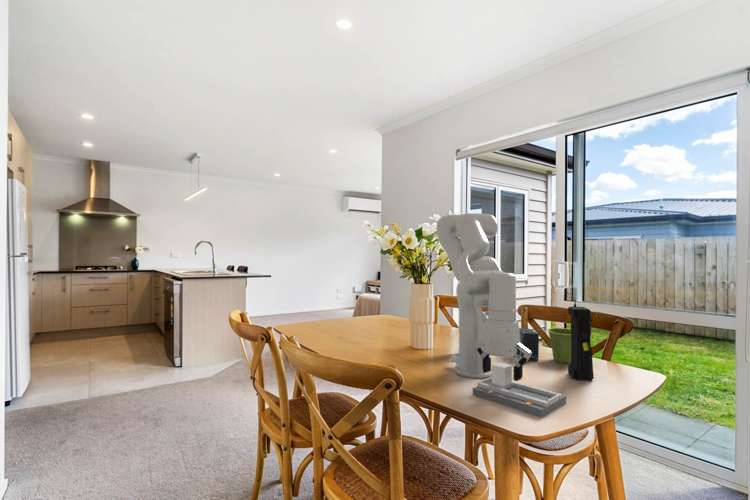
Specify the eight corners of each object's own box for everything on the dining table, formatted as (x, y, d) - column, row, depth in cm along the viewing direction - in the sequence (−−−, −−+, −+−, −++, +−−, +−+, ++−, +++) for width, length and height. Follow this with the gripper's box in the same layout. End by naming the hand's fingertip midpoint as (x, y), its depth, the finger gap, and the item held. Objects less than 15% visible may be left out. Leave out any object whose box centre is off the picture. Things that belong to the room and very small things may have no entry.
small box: (540, 361, 146) (540, 333, 146) (522, 361, 146) (522, 333, 146) (529, 353, 157) (529, 327, 157) (512, 353, 157) (512, 327, 157)
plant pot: (544, 362, 145) (544, 331, 145) (549, 355, 155) (549, 326, 155) (581, 367, 138) (581, 335, 138) (583, 359, 149) (583, 330, 149)
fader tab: (490, 386, 112) (490, 365, 112) (500, 382, 115) (500, 361, 115) (502, 390, 109) (502, 368, 109) (513, 385, 112) (513, 364, 112)
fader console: (472, 395, 111) (472, 384, 111) (499, 384, 120) (499, 374, 120) (541, 417, 96) (541, 404, 96) (566, 403, 105) (566, 391, 105)
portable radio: (595, 382, 123) (595, 302, 123) (574, 381, 124) (574, 301, 124) (587, 374, 130) (587, 299, 130) (567, 373, 131) (567, 299, 132)
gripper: (468, 313, 116) (468, 371, 116) (524, 321, 103) (523, 386, 103) (483, 311, 121) (482, 366, 121) (537, 318, 108) (537, 380, 108)
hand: (501, 375), depth 112 cm, fingers open, 9 cm apart
